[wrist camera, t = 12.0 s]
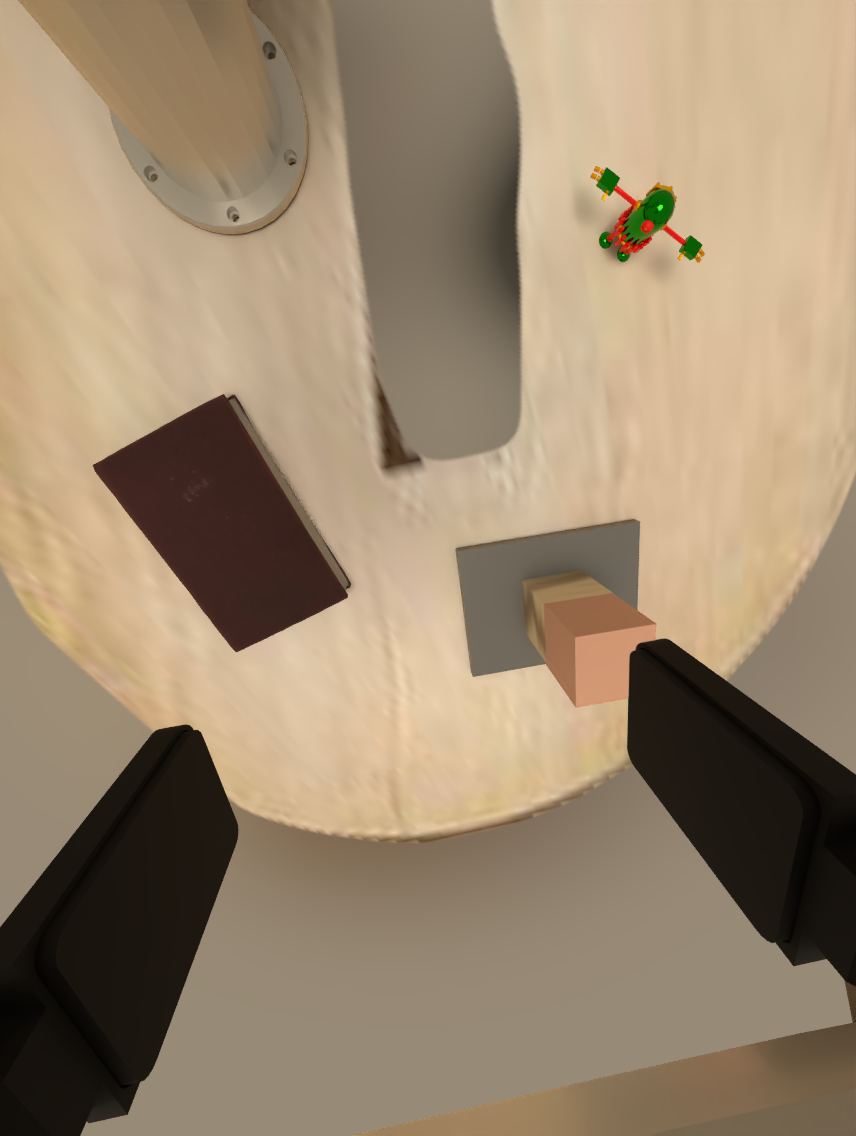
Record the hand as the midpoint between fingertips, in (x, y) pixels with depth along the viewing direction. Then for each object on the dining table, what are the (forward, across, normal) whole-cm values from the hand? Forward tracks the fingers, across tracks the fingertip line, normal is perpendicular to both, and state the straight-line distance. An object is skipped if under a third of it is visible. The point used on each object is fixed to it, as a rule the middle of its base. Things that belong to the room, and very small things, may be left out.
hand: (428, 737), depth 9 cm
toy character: (+31, -22, -19) cm, 42 cm away
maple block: (+29, -14, +12) cm, 35 cm away
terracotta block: (+23, -14, +12) cm, 30 cm away
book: (+31, +14, 0) cm, 34 cm away
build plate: (+30, -14, +12) cm, 35 cm away
